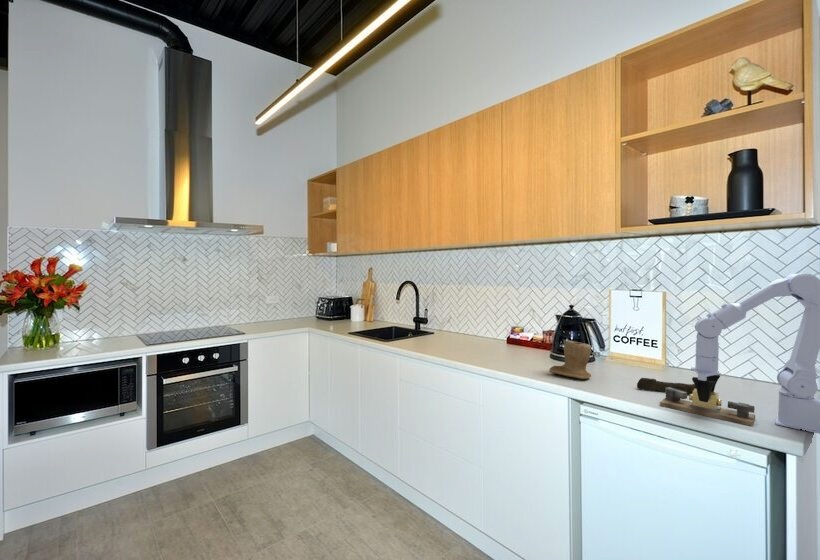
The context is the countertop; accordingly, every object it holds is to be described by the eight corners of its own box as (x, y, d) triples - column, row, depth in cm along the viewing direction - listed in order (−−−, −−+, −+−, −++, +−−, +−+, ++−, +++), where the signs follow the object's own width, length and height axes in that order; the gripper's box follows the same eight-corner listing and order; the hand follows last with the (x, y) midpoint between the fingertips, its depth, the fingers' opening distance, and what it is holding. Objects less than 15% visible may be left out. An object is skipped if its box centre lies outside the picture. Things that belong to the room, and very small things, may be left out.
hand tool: (695, 393, 142) (695, 381, 142) (698, 396, 138) (698, 384, 138) (636, 387, 149) (636, 375, 149) (637, 390, 145) (637, 378, 145)
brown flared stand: (596, 377, 162) (596, 341, 162) (584, 382, 154) (585, 345, 154) (560, 370, 173) (561, 336, 173) (548, 375, 165) (548, 340, 164)
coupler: (722, 407, 121) (722, 393, 121) (720, 411, 119) (720, 396, 118) (691, 401, 127) (691, 387, 127) (688, 404, 124) (688, 390, 124)
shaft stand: (755, 418, 117) (755, 403, 117) (752, 426, 112) (752, 409, 112) (666, 400, 134) (666, 386, 134) (660, 405, 128) (660, 391, 128)
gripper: (696, 350, 130) (695, 390, 131) (686, 357, 120) (685, 400, 120) (723, 354, 125) (721, 395, 125) (715, 361, 115) (713, 406, 115)
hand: (705, 398), depth 123 cm, fingers open, 7 cm apart
